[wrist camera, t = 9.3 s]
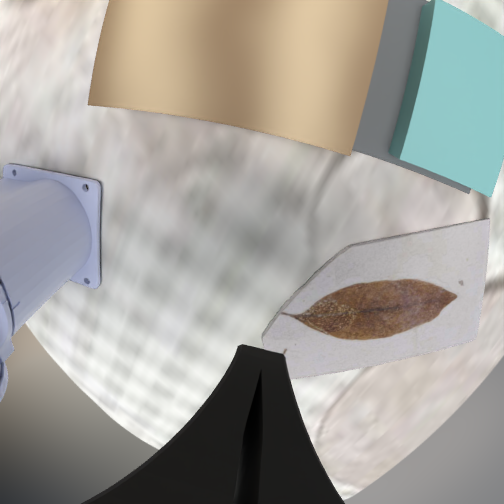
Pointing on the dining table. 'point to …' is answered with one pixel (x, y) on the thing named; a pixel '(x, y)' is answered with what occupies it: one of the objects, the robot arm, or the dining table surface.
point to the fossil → (385, 302)
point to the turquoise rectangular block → (454, 99)
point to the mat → (392, 87)
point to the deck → (243, 63)
